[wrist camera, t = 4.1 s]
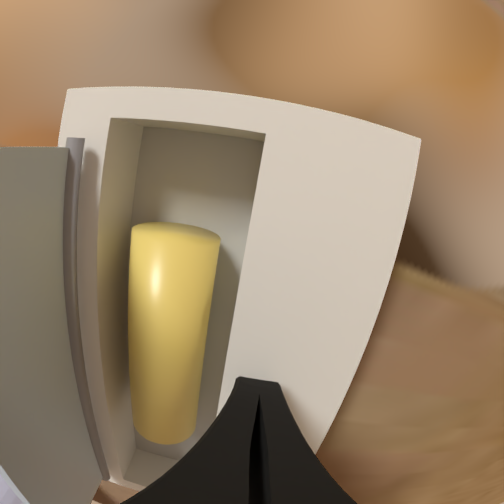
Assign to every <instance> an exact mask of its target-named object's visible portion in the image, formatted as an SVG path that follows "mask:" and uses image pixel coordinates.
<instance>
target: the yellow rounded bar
mask: <svg viewBox="0 0 504 504" xmlns="http://www.w3.org/2000/svg"><path fill="white" fill-rule="evenodd" d="M220 241H221V238H220V236H219V235H217V234H216V233H214V232H212V231H210V230H207V229H204V228H201V227H197V226H193V225H187V224H181V223H173V222H147V223H141V224H137V225H135V226H133V227H132V232H131V245H130V261H129V285H128V354H129V377H130V392H131V405H132V416H133V424H134V427H135V429H136V430H137V432H138V433H139V434H140V435H141V436H143V437H144V438H145V439H147V440H149V441H151V442H154V443H158V444H164V445H170V444H177V443H180V442H183V441H185V440H187V439H188V438H189V437H190V436H191V435H192V434H193V432H194V430H195V427H196V419H197V410H198V401H199V393H200V384H201V376H202V368H203V360H204V352H205V344H206V337H207V329H208V322H209V315H210V308H211V301H212V294H213V287H214V280H215V274H216V267H217V260H218V254H219V247H220Z"/></svg>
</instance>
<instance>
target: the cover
mask: <svg viewBox="0 0 504 504" xmlns="http://www.w3.org/2000/svg"><path fill="white" fill-rule="evenodd" d="M84 144H85V138H73V137H67V139H66V146H65V147H0V475H1V476H2V477H3V479H4V480H5V481H6V483H7V484H8V485H9V486H10V488H11V489H12V490H13V491H14V493H15V494H16V495H17V496H18V498H19V499H20V500H21V501H22V502H23V503H24V504H91V502H92V500H93V498H94V495H95V493H96V491H97V489H98V487H99V485H100V483H101V481H102V480H105V481H108V480H109V479H110V478H111V476H110V473H109V470H108V467H107V463H106V460H105V457H104V453H103V449H102V446H101V442H100V438H99V434H98V430H97V426H96V422H95V417H94V413H93V408H92V403H91V398H90V393H89V387H88V381H87V375H86V369H85V362H84V355H83V347H82V339H81V329H80V318H79V305H78V286H77V220H78V201H79V188H80V177H81V167H82V159H83V151H84Z"/></svg>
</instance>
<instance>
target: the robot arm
mask: <svg viewBox="0 0 504 504" xmlns="http://www.w3.org/2000/svg"><path fill="white" fill-rule="evenodd" d="M0 504H24V503H23V502H22V501H21V500H20V499H19V498H18V496H17V495H16V494H15V493H14V491H13V490H12V489H11V488H10V486H9V485H8V484H7V483H6V481H5V480H4V479H3V477H2V476H1V475H0ZM120 504H357V503H356V502H355V501H354V500H353V499H352V498H351V497H350V496H349V495H348V494H347V493H346V492H345V491H344V490H343V489H342V488H341V487H340V486H339V485H338V484H337V483H336V481H335V480H334V479H333V478H332V477H331V476H330V474H329V473H328V472H327V471H326V469H325V468H324V467H323V465H322V464H321V463H320V461H319V460H318V458H317V457H316V455H315V454H314V452H313V451H312V449H311V448H310V446H309V445H308V443H307V441H306V440H305V438H304V436H303V434H302V433H301V431H300V429H299V427H298V425H297V423H296V421H295V419H294V417H293V415H292V413H291V411H290V409H289V406H288V404H287V402H286V399H285V397H284V394H283V392H282V389H281V386H280V384H279V383H278V382H273V381H266V380H260V379H253V378H247V377H242V376H239V377H237V378H236V380H235V384H234V387H233V389H232V392H231V394H230V396H229V398H228V399H227V401H226V403H225V405H224V406H223V408H222V410H221V411H220V413H219V414H218V416H217V417H216V419H215V420H214V422H213V423H212V424H211V426H210V427H209V428H208V429H207V431H206V432H205V433H204V435H203V436H202V437H201V438H200V439H199V441H198V442H197V443H196V444H195V445H194V446H193V447H192V448H191V449H190V450H189V451H188V452H187V453H186V454H185V456H184V457H182V458H181V459H180V460H179V461H178V462H177V463H176V464H175V465H174V466H173V467H172V468H170V469H169V470H168V471H167V472H166V473H165V474H163V475H162V476H161V477H160V478H158V479H157V480H156V481H154V482H153V483H151V484H150V485H149V486H147V487H146V488H144V489H143V490H141V491H140V492H138V493H137V494H136V495H134V496H132V497H131V498H129V499H127V500H126V501H124V502H122V503H120Z"/></svg>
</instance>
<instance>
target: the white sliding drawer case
mask: <svg viewBox="0 0 504 504" xmlns="http://www.w3.org/2000/svg"><path fill="white" fill-rule="evenodd" d="M67 137H73V138H85V144H84V151H83V159H82V167H81V177H80V188H79V201H78V220H77V286H78V305H79V318H80V329H81V339H82V347H83V355H84V362H85V369H86V375H87V381H88V387H89V393H90V398H91V403H92V408H93V413H94V417H95V422H96V426H97V430H98V434H99V438H100V442H101V446H102V449H103V453H104V457H105V460H106V463H107V467H108V470H109V473H110V476H111V478H110V479H109V480H108V481H111V482H113V483H116V484H119V485H122V486H125V487H128V488H131V489H134V490H137V491H141V490H143V489H144V488H146V487H147V486H149V485H150V484H151V483H153V482H154V481H156V480H157V479H158V478H160V477H161V476H162V475H163V474H165V473H166V472H167V471H168V470H169V469H170V468H172V467H173V466H174V465H175V464H176V463H177V462H178V461H179V460H180V459H181V458H182V457H184V456H185V454H186V453H187V452H188V451H189V450H190V449H191V448H192V447H193V446H194V445H195V444H196V443H197V442H198V441H199V439H200V438H201V437H202V436H203V435H204V433H205V432H206V431H207V429H208V428H209V427H210V426H211V424H212V423H213V422H214V420H215V419H216V417H217V416H218V414H219V413H220V411H221V410H222V408H223V406H224V405H225V403H226V401H227V399H228V398H229V396H230V394H231V392H232V389H233V387H234V384H235V380H236V378H237V377H239V376H242V377H247V378H253V379H260V380H266V381H273V382H278V383H279V384H280V386H281V389H282V392H283V394H284V397H285V399H286V402H287V404H288V406H289V409H290V411H291V413H292V415H293V417H294V419H295V421H296V423H297V425H298V427H299V429H300V431H301V433H302V434H303V436H304V438H305V440H306V441H307V443H308V445H309V446H310V448H311V449H312V451H313V452H314V454H316V453H317V451H318V449H319V447H320V445H321V443H322V442H323V440H324V438H325V436H326V434H327V432H328V430H329V428H330V426H331V424H332V422H333V420H334V418H335V416H336V414H337V412H338V410H339V408H340V406H341V403H342V401H343V399H344V397H345V395H346V393H347V390H348V388H349V386H350V384H351V381H352V379H353V377H354V375H355V372H356V370H357V367H358V365H359V363H360V360H361V358H362V355H363V353H364V350H365V348H366V345H367V343H368V340H369V337H370V335H371V332H372V329H373V327H374V324H375V321H376V318H377V316H378V313H379V310H380V307H381V304H382V301H383V298H384V295H385V292H386V289H387V286H388V282H389V279H390V276H391V273H392V269H393V266H394V262H395V259H396V255H397V252H398V248H399V244H400V241H401V237H402V233H403V229H404V225H405V220H406V217H407V212H408V208H409V204H410V199H411V194H412V189H413V184H414V179H415V174H416V168H417V163H418V157H419V151H420V144H421V139H420V138H417V137H414V136H411V135H408V134H405V133H402V132H400V131H396V130H394V129H391V128H387V127H384V126H381V125H377V124H375V123H371V122H367V121H364V120H361V119H357V118H353V117H350V116H346V115H342V114H338V113H334V112H330V111H326V110H322V109H318V108H313V107H309V106H304V105H299V104H294V103H289V102H284V101H278V100H273V99H267V98H261V97H255V96H248V95H241V94H233V93H225V92H216V91H207V90H196V89H183V88H182V89H181V88H165V87H89V88H72V89H68V91H67V95H66V100H65V105H64V110H63V115H62V121H61V127H60V134H59V140H58V147H65V146H66V139H67ZM147 222H173V223H181V224H187V225H193V226H197V227H201V228H204V229H207V230H210V231H212V232H214V233H216V234H217V235H219V236H220V238H221V241H220V247H219V254H218V260H217V267H216V274H215V280H214V287H213V294H212V301H211V308H210V315H209V322H208V329H207V337H206V344H205V352H204V360H203V368H202V376H201V384H200V393H199V401H198V410H197V419H196V427H195V430H194V432H193V434H192V435H191V436H190V437H189V438H188V439H187V440H185V441H183V442H180V443H177V444H170V445H164V444H158V443H154V442H151V441H149V440H147V439H145V438H144V437H143V436H141V435H140V434H139V433H138V432H137V430H136V429H135V427H134V424H133V416H132V405H131V392H130V377H129V354H128V285H129V261H130V245H131V232H132V227H133V226H135V225H137V224H141V223H147Z"/></svg>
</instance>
